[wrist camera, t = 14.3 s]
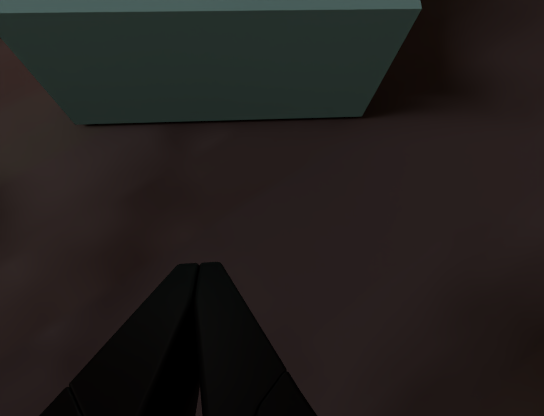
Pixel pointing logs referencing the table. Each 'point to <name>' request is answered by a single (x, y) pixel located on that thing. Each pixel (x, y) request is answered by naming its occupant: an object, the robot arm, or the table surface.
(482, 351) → the table surface
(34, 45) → the white and teal drawer
